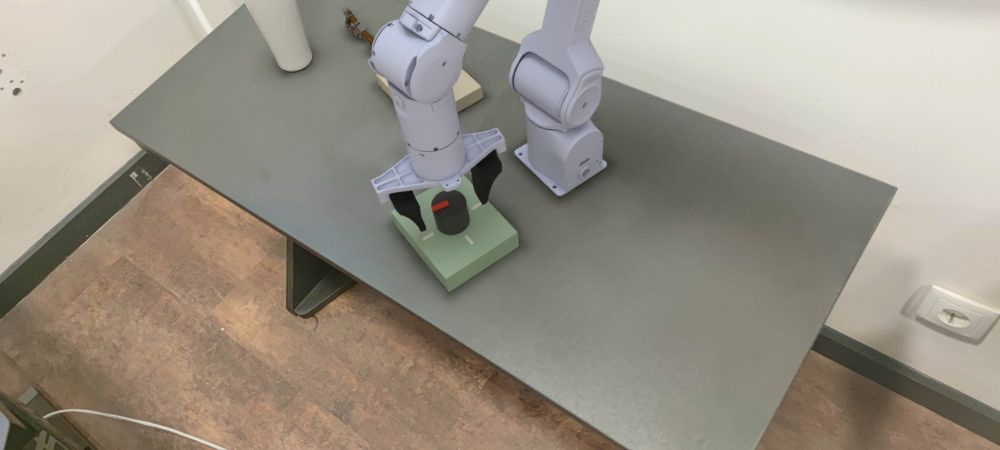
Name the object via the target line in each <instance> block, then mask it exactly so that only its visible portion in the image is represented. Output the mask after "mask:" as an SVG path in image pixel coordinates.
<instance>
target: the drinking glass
mask: <svg viewBox="0 0 1000 450" xmlns="http://www.w3.org/2000/svg"><path fill="white" fill-rule="evenodd" d="M243 2H244V4H245V7H246V9H247V10H248V12H249V14H250V16H251V17H252V20H253V21H254V23H255V25H256V27H257V28H258V30H259V32H260V35H262V37H263V39H264V40H265V41H264V42H265V43H266V44H267V46H268V48H269V49H270V52H271V53H272V55H273V57H274V60H275V62H276V64H277V66H278V67H279V68H280V69H281V70H283V71H286V72H298V71H301V70H303V69H305V68H306V67H308V66H309V65H310V63H312V60H313V52H312V48H311V46H310V43H309V40H308V36H307V32H306V28H305V26H304V22H303V17H302V15H301V11H300V6H299V3H298V0H243Z"/></svg>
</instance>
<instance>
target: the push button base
mask: <svg viewBox="0 0 1000 450" xmlns="http://www.w3.org/2000/svg"><path fill="white" fill-rule="evenodd" d="M375 76H376V77H375V78H376V80H377V83H378V86H379V87H380V88H381V90H383V91H384V92H385V93H386V94H387V96H388V97H389V98H390V99H391V100H392V96H391V93H390V89H389V87H388V83H387V80H386V78H385V77H382V76H380V75H378V74H377V73H375ZM453 92H454V97H455V103H456V108H457V113H458V114H459V112H461V111H463V110H465V109H467V108H468V107H470V106H472V105H474V104H475V103H477V102H479V101H481V100H482V99H483V98H484V95H483V88H482V85H480V84H479V83H478V82H477V81H476V80H475V79H474V78H473V77H472V76H471V75H469V73H467V72H466V71H465V70H464V69H463V68H462V69H461V73H460V76H459V79H458V81H457V82H456V83H455V84H454V86H453Z"/></svg>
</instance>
